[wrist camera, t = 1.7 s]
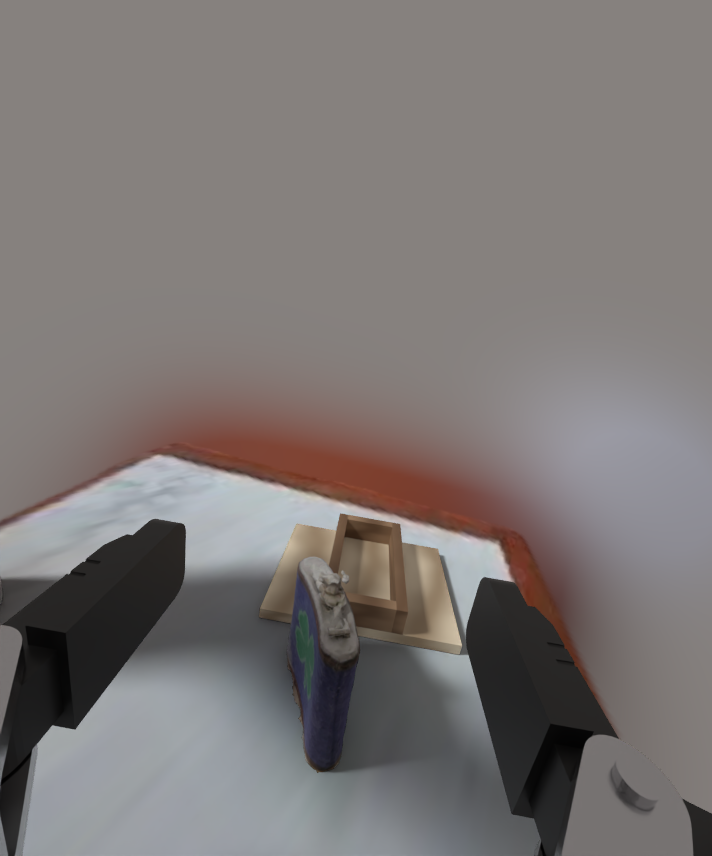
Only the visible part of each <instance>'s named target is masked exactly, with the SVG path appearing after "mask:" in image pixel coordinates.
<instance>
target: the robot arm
mask: <svg viewBox="0 0 712 856" xmlns="http://www.w3.org/2000/svg"><path fill="white" fill-rule="evenodd" d="M185 542H186V529H185V526H184V524H182V523H176V522H170V521H165V520H159V519H152V520H151V521H149V522H148V523H147V524H145V525H144V526H143V527H142V528H141V529H140V530H138V531H137V532H136V533H135V534H134V535H125V536H122V537H120V538H118V539H116V540H114V541H111V542H109V543H107V544H105V545H103V546H102V547H101V548H100V549H98V550H97V551H96V552H94V553H93V554H92V555H91V556H89V557H88V558H87V559H86V561H85V562H82V563H80V564H79V565H78V566H77V567H75V568H74V569H73V570H72V571H71V573H70V574H66V575H65V576H64V577H63V578H61V579H60V580H59V581H58V582H56V583H55V584H54V585H53V586H51V587H50V588H49V589H47V590H46V591H45V592H44V593H42V594H41V595H40V596H39V597H37V598H36V599H35V600H33V601H32V602H31V603H30V604H28V605H27V606H26V607H25V608H23V609H22V610H21V611H19V612H18V613H17V614H16V615H14V616H13V617H12V618H11V619H9V620H8V621H7V622H6V623H4V624H3V625H0V856H22V853H23V847H24V840H25V833H26V827H27V820H28V813H29V807H30V800H31V793H32V786H33V780H34V773H35V766H36V760H37V750H38V747H37V743H38V742H39V741H40V740H41V738H42V737H43V736H44V735H45V733H46V732H47V731H48V730H49V729H50V727H51V726H52V725H54V726H59V727H65V728H70V729H76V728H77V726H78V725H79V724H80V722H81V721H82V720H83V718H84V717H85V716H86V714H87V713H88V712H89V710H90V709H91V708H92V707H93V705H94V704H95V703H96V701H97V700H98V699H99V697H100V696H101V695H102V693H103V692H104V691H105V689H106V688H107V687H108V685H109V684H110V683H111V682H112V680H113V679H114V678H115V676H116V675H117V674H118V672H119V671H120V670H121V668H122V667H123V666H124V664H125V663H126V662H127V660H128V659H129V658H130V656H131V655H132V654H133V653H134V651H135V650H136V649H137V647H138V646H139V645H140V643H141V642H142V641H143V639H144V638H145V637H146V635H147V634H148V633H149V631H150V630H151V629H152V628H153V626H154V625H155V624H156V622H157V621H158V620H159V618H160V617H161V616H162V614H163V613H164V612H165V610H166V609H167V608H168V606H169V605H170V604H171V602H172V601H173V600H174V599H175V597H176V596H177V594H178V592H179V590H180V588H181V585H182V583H183V579H184V574H185ZM2 597H3V591H2V585H1V578H0V604H1V602H2ZM466 644H467V650H468V654H469V658H470V662H471V665H472V669H473V673H474V676H475V680H476V684H477V687H478V691H479V695H480V699H481V702H482V706H483V710H484V713H485V717H486V721H487V724H488V728H489V732H490V736H491V739H492V743H493V747H494V750H495V754H496V758H497V761H498V765H499V769H500V772H501V776H502V780H503V784H504V787H505V791H506V795H507V798H508V802H509V806H510V809H511V813H512V814H513V815H519V816H524V817H529V818H534V819H535V822H536V826H537V829H538V832H539V835H540V839H539V841H538V844H537V846H536V849H535V853H534V856H712V814H711V813H709V812H707V811H705V810H703V809H701V808H699V807H697V806H695V805H693V804H691V803H689V802H687V801H685V800H684V799H682V798H681V796H680V795H679V793H678V792H677V790H676V788H675V787H674V786H673V784H672V783H671V782H670V780H669V779H668V778H667V777H666V776H665V774H664V773H663V772H662V771H661V770H660V769H659V768H658V767H657V766H656V765H655V764H654V763H653V762H652V761H651V760H650V759H649V758H647V757H646V756H645V755H644V754H642V753H641V752H640V751H638V750H637V749H636V748H634V747H633V746H631V745H629V744H628V743H626V742H624V741H622V740H620V739H619V738H618V737H617V735H616V733H615V731H614V730H613V728H612V726H611V725H610V723H609V721H608V719H607V718H606V716H605V714H604V712H603V711H602V709H601V707H600V706H599V704H598V702H597V700H596V699H595V697H594V695H593V694H592V692H591V690H590V688H589V687H588V685H587V683H586V681H585V680H584V678H583V676H582V675H581V673H580V671H579V669H578V668H577V667H575V665H574V661H573V659H572V657H571V656H570V654H569V652H568V650H567V649H565V648H564V644H563V642H562V640H561V638H560V637H559V635H558V633H557V632H556V630H555V628H554V626H553V625H552V624H551V623H550V622H549V621H548V620H547V619H546V618H545V617H544V616H543V615H542V614H541V613H540V612H539V611H538V610H537V609H536V608H535V607H531V606H527V604H526V602H525V600H524V598H523V596H522V595H521V593H520V591H519V589H518V587H517V585H516V584H515V583H513V582H509V581H503V580H497V579H491V578H486V577H484V578H482V580H481V581H480V584H479V587H478V590H477V593H476V597H475V600H474V603H473V607H472V610H471V613H470V617H469V620H468V624H467V630H466Z"/></svg>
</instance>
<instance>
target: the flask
mask: <svg viewBox="0 0 712 856" xmlns="http://www.w3.org/2000/svg"><path fill="white" fill-rule="evenodd" d="M341 574H342V575H343V579H341V578H340V576H339V575H338V574H337V573H333V571H332V569H331V568H330V567H329V566H328V564H327V563H326V562H325V561H324V560H323V559H321V558H318V557H308V558H304V559H303V560H302V561H300V562H299V564H298V568H297V579H296V587H295V596H294V605H293V613H292V621H291V627H290V635H289V642H288V646H287V661H288V665H287V667H288V670H291V673H292V680H293V686H292V688H293V694H292V695H293V696H294V700H295V702H296V704H298V706H299V708H300V711H301V715H300V717H299V718H298V719H299V720H300V722H301V723H302V725H303V737H302V738H303V743H304V745H303V748H304V752H305V760H306V762H307V763H308V764H309V765H310V766H311V767H312V768H313V769H315V770H316V771H317V773H318V772H324V771H328V770H331V769H334V768H335V766H337V765H338V764H339V761H340V758H341V753H342V746H343V736H344V731H345V727H346V721H347V713H348V708H349V702H350V696H351V691H352V688H353V683H354V677H355V670H356V666H357V663H358V658H359V653H360V644H359V638H358V632H357V628H356V624H355V618H354V615H353V611H352V608H351V605H350V603H349V599H348V598H347V596H346V593H345V591H344V589H343V587H342V586H341V580H342V582H344V583H345V584H347V583H348V582H349V576H348V575H346V574H345V572H344V571H341Z"/></svg>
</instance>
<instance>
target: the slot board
mask: <svg viewBox="0 0 712 856" xmlns="http://www.w3.org/2000/svg"><path fill="white" fill-rule="evenodd" d="M308 557H318V558H321V559H323V560H324V561H325V562H326V563H327V564H328V566H329V567H330V568H331V569H332V571H333V573H337V574H338V575H339V576H340V578H341V579H343V575H342V574H341V571H344V572H345V574H346V575H348V576H349V582H348V583H347V584H345V583H344V582H342V580H341V586H342V587H343V589H344V591H345V593H346V596H347V598H348V599H349V603H350V605H351V608H352V611H353V615H354V618H355V624H356V628H357V632H358V636H361V637H367V638H372V639H378V640H383V641H388V642H394V643H399V644H405V645H410V646H415V647H421V648H426V649H431V650H437V651H442V652H448V653H453V654H458V655H459V654H460V651H461V648H462V643H461V640H460V636H459V632H458V628H457V624H456V620H455V616H454V612H453V608H452V604H451V600H450V596H449V592H448V588H447V584H446V580H445V576H444V572H443V568H442V564H441V560H440V556H439V552H438V549H435V548H430V547H424V546H418V545H413V544H407V543H402V539H401V528H400V524H396V523H391V522H385V521H379V520H374V519H368V518H363V517H357V516H351V515H346V514H340V517H339V522H338V526H337V531H335V530H329V529H324V528H318V527H313V526H307V525H301V524H296V526H295V528H294V531H293V533H292V535H291V537H290V540H289V542H288V544H287V547H286V549H285V551H284V554H283V556H282V558H281V561H280V563H279V565H278V568H277V570H276V572H275V575H274V577H273V579H272V582H271V584H270V586H269V588H268V591H267V593H266V595H265V598H264V600H263V602H262V605H261V607H260V612H259V618H265V619H270V620H275V621H281V622H286V623H291V621H292V613H293V605H294V596H295V587H296V579H297V568H298V564H299V562H300V561H302V560H303V559H304V558H308Z"/></svg>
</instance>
